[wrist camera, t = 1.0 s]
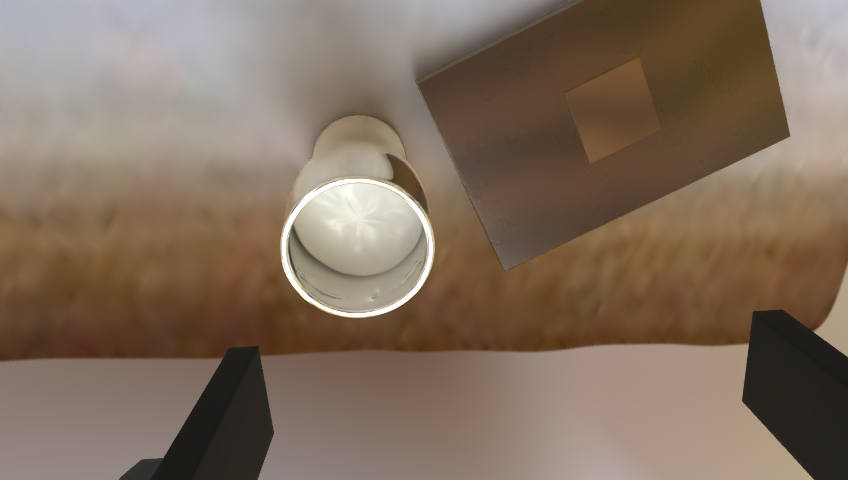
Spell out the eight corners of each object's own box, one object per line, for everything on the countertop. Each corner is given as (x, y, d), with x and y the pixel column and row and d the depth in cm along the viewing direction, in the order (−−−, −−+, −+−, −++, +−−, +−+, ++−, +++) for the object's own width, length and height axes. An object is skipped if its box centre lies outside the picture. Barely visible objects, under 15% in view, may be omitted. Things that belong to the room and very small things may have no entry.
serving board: (414, 80, 37) (417, 84, 35) (723, -75, 36) (743, -80, 34) (498, 260, 42) (505, 272, 40) (771, 131, 41) (791, 136, 39)
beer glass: (370, 85, 37) (376, 136, 23) (432, 172, 39) (471, 265, 25) (283, 149, 38) (238, 235, 24) (349, 229, 40) (343, 350, 26)
